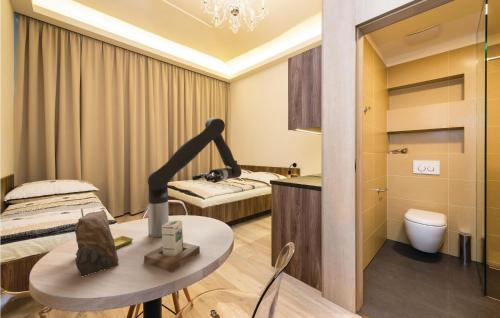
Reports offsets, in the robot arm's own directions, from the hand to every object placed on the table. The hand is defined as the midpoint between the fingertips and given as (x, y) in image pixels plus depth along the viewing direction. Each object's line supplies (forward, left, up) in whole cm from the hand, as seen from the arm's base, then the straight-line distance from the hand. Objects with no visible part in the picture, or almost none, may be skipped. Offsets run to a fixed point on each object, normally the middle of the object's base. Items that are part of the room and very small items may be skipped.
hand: (199, 178), depth 100 cm
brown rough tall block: (-20, -35, -30) cm, 50 cm away
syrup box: (+1, -19, -30) cm, 36 cm away
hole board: (+1, -19, -30) cm, 36 cm away
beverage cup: (-35, -32, -30) cm, 56 cm away
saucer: (-32, -20, -31) cm, 49 cm away
